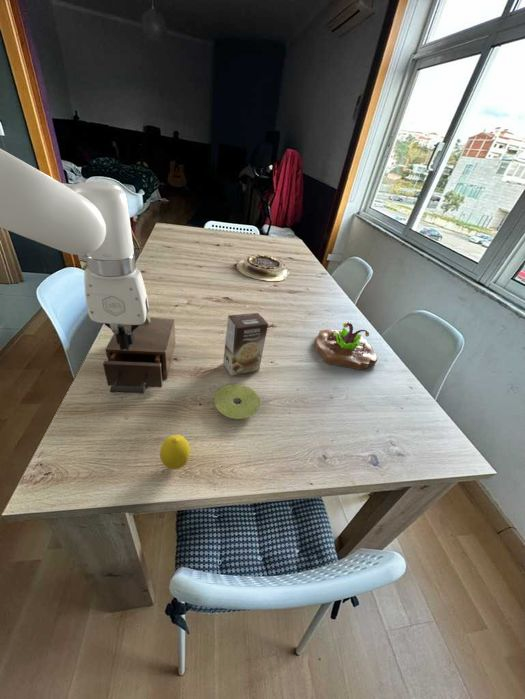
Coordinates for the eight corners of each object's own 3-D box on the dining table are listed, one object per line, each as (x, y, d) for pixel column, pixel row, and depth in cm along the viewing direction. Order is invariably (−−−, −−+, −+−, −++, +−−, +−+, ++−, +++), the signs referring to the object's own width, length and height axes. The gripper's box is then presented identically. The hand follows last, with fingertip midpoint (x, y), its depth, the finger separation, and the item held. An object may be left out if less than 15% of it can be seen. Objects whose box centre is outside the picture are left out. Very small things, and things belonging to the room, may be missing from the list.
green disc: (235, 383, 79) (236, 378, 78) (267, 406, 74) (269, 401, 73) (204, 404, 72) (204, 399, 70) (237, 432, 67) (238, 426, 66)
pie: (277, 286, 134) (279, 276, 131) (226, 269, 142) (226, 259, 139) (297, 269, 156) (299, 260, 153) (252, 255, 163) (253, 246, 160)
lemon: (164, 481, 55) (161, 456, 51) (159, 456, 59) (156, 431, 54) (193, 471, 58) (193, 447, 53) (186, 448, 61) (186, 424, 57)
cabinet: (167, 378, 77) (165, 352, 72) (111, 376, 75) (105, 349, 70) (175, 343, 89) (174, 319, 84) (127, 340, 87) (123, 315, 82)
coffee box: (230, 376, 81) (235, 328, 72) (222, 362, 85) (226, 315, 76) (260, 370, 85) (268, 323, 76) (251, 357, 89) (258, 311, 80)
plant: (308, 332, 106) (316, 305, 99) (359, 336, 109) (369, 309, 102) (322, 368, 90) (333, 338, 84) (381, 371, 93) (395, 343, 87)
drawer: (157, 404, 68) (155, 383, 64) (99, 403, 66) (93, 380, 62) (170, 351, 85) (169, 332, 80) (124, 349, 82) (120, 328, 78)
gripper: (56, 267, 47) (81, 355, 58) (152, 275, 50) (159, 358, 61) (74, 251, 53) (95, 334, 64) (160, 259, 56) (165, 338, 67)
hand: (126, 345), depth 62 cm, fingers closed
